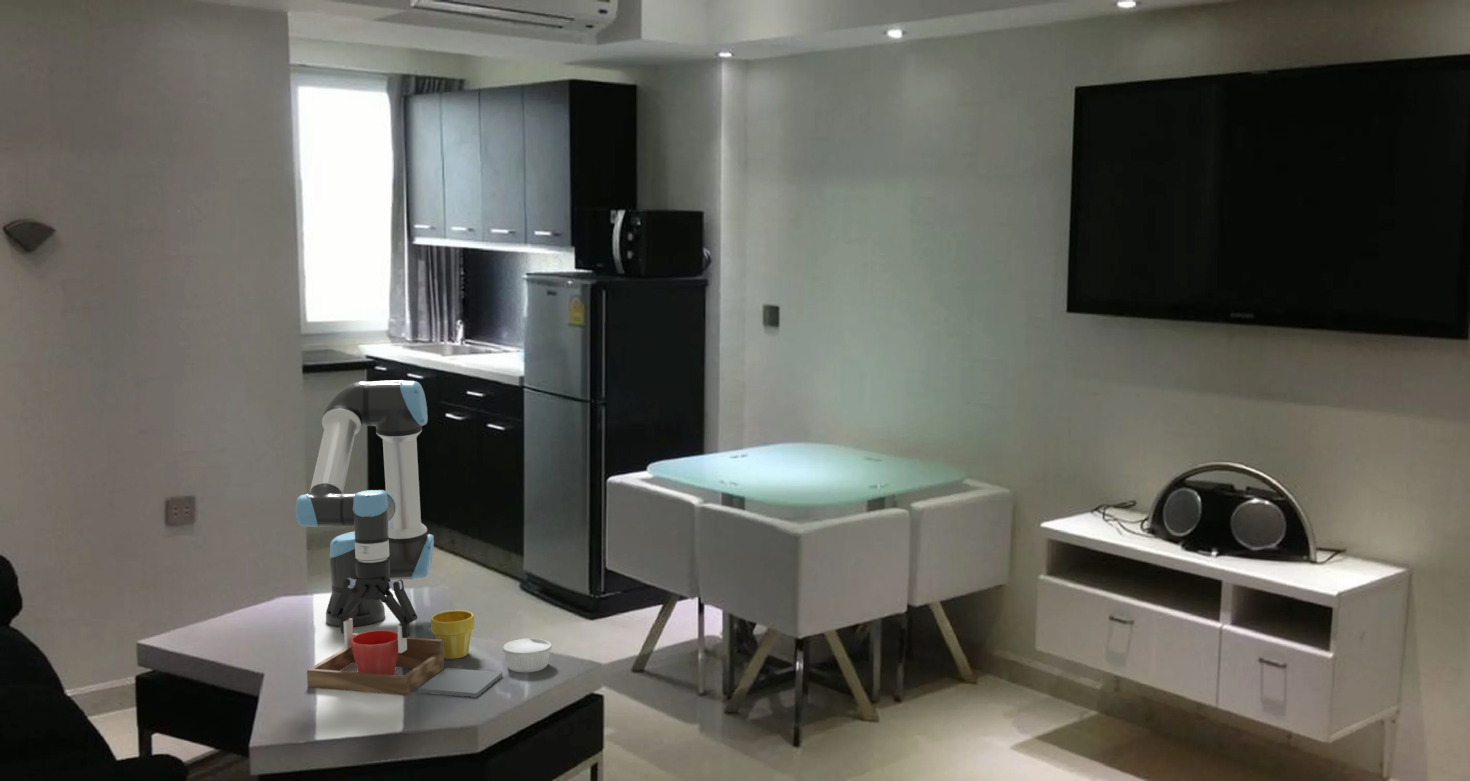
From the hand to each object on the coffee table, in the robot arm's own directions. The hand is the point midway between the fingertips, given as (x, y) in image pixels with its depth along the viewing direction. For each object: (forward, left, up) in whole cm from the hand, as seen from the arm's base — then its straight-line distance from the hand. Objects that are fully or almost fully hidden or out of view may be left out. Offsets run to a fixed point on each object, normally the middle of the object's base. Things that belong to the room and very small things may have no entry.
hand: (375, 649), depth 291 cm
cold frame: (0, 0, -7) cm, 7 cm away
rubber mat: (0, +21, -7) cm, 22 cm away
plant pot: (-19, +10, -7) cm, 23 cm away
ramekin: (-15, +31, -7) cm, 35 cm away
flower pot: (0, 0, -7) cm, 7 cm away
